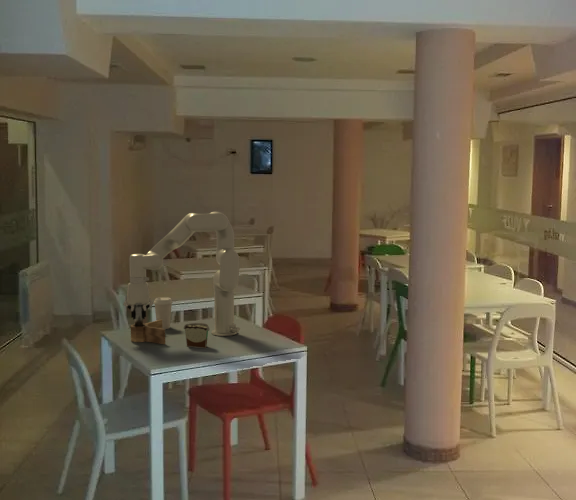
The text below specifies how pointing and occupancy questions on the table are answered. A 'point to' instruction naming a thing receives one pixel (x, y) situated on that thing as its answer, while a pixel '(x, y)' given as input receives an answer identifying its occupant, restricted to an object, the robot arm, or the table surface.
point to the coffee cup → (163, 311)
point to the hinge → (148, 332)
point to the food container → (196, 334)
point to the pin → (138, 314)
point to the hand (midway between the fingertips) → (138, 318)
